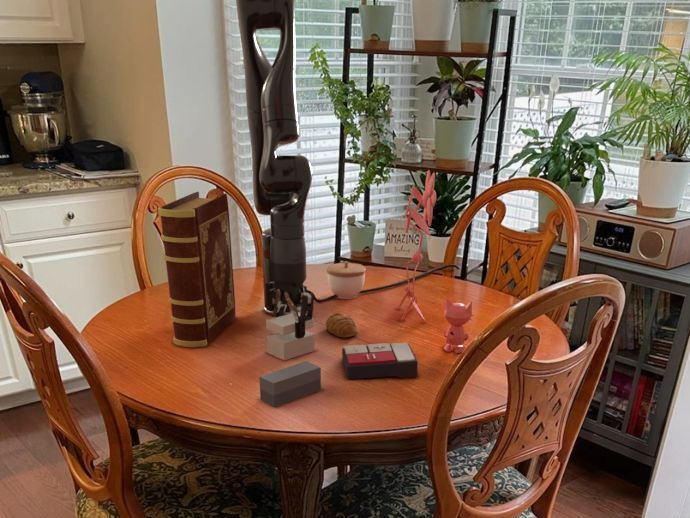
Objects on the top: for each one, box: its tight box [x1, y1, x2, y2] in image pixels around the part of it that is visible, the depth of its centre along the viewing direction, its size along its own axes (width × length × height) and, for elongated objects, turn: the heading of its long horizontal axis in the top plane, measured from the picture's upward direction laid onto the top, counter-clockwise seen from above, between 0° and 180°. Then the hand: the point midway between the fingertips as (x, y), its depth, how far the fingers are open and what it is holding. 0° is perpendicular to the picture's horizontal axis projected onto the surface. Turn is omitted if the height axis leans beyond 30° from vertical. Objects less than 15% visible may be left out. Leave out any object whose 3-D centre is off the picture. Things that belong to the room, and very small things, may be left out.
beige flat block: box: [265, 312, 315, 335], centre depth 159 cm, size 9×6×2 cm, turn 134°
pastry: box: [325, 312, 358, 338], centre depth 173 cm, size 9×7×4 cm
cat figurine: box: [443, 298, 474, 354], centre depth 162 cm, size 7×7×12 cm
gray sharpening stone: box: [258, 360, 322, 408], centre depth 141 cm, size 12×4×5 cm, turn 135°
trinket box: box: [326, 260, 366, 300], centre depth 197 cm, size 11×11×9 cm
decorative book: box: [157, 191, 236, 349], centre depth 164 cm, size 22×8×30 cm, turn 168°
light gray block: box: [266, 330, 316, 361], centre depth 161 cm, size 9×6×4 cm, turn 134°
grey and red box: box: [341, 342, 419, 380], centre depth 154 cm, size 11×4×15 cm
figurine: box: [396, 169, 444, 329], centre depth 177 cm, size 15×26×35 cm, turn 2°
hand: (290, 333), depth 160 cm, fingers closed on beige flat block, 6 cm apart
